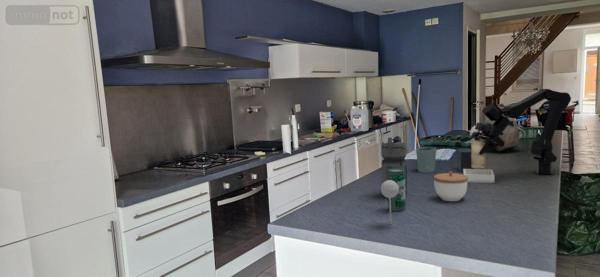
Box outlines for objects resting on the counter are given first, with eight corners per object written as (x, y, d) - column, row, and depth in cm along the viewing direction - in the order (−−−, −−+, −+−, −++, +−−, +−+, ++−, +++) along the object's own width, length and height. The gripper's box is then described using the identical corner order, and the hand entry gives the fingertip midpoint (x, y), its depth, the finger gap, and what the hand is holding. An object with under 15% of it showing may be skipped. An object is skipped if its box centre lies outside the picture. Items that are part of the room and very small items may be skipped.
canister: (474, 165, 197) (474, 140, 195) (487, 166, 192) (487, 140, 191) (469, 167, 193) (469, 141, 191) (482, 168, 188) (482, 142, 187)
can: (402, 212, 151) (401, 172, 150) (386, 210, 155) (385, 170, 153) (407, 207, 157) (406, 168, 155) (391, 205, 160) (390, 167, 158)
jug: (484, 154, 253) (484, 105, 249) (475, 149, 274) (475, 103, 270) (527, 153, 248) (528, 103, 245) (515, 148, 269) (515, 101, 266)
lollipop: (379, 221, 143) (378, 179, 141) (396, 220, 143) (395, 177, 141) (384, 227, 137) (383, 183, 135) (402, 226, 137) (401, 181, 135)
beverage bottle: (411, 191, 178) (410, 134, 175) (402, 199, 167) (401, 138, 164) (388, 189, 184) (387, 133, 180) (378, 197, 172) (376, 137, 169)
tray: (463, 176, 201) (463, 168, 201) (491, 176, 197) (491, 169, 197) (464, 182, 190) (464, 174, 189) (494, 183, 185) (494, 175, 185)
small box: (474, 172, 209) (474, 151, 207) (460, 172, 210) (460, 151, 209) (469, 167, 219) (469, 148, 218) (456, 167, 220) (456, 148, 219)
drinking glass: (415, 172, 214) (414, 149, 212) (417, 168, 223) (417, 146, 222) (435, 173, 210) (435, 150, 208) (437, 169, 219) (437, 147, 218)
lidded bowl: (451, 205, 156) (451, 176, 155) (427, 198, 168) (426, 171, 166) (474, 199, 162) (475, 171, 161) (449, 193, 173) (449, 167, 172)
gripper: (475, 114, 199) (453, 139, 199) (498, 117, 181) (475, 144, 181) (490, 130, 201) (469, 154, 201) (515, 134, 183) (492, 160, 183)
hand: (475, 153), depth 192 cm, fingers closed on canister, 6 cm apart
